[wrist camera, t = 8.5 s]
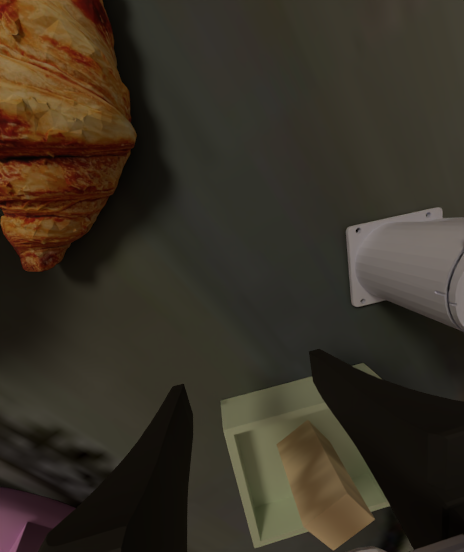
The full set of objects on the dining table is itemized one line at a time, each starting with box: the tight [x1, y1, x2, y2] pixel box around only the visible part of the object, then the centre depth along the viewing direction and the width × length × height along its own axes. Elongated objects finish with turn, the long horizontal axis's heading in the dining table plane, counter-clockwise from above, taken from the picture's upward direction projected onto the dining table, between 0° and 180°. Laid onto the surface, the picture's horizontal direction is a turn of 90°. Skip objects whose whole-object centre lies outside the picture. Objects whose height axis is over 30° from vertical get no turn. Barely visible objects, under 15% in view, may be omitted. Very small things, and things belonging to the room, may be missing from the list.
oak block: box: [276, 420, 375, 550], centre depth 22 cm, size 4×4×7 cm
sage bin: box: [221, 363, 390, 548], centre depth 24 cm, size 16×16×4 cm
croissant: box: [0, 0, 137, 272], centre depth 14 cm, size 21×10×8 cm, turn 167°
